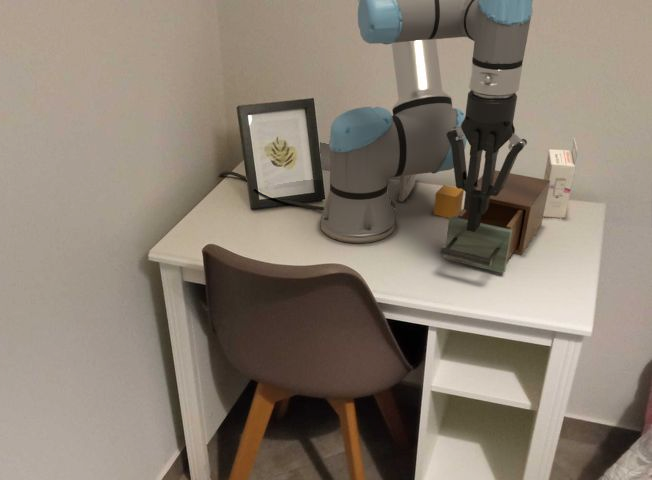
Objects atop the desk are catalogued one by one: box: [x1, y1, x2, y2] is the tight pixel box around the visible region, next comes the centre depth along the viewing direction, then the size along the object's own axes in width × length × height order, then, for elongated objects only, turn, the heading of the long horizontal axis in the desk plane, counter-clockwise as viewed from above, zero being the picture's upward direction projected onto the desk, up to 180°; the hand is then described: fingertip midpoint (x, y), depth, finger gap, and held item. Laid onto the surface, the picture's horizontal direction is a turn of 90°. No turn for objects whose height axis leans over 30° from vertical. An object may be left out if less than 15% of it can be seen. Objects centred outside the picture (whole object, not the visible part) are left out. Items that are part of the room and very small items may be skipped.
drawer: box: [440, 202, 526, 274], centre depth 131 cm, size 19×11×8 cm, turn 149°
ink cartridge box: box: [543, 136, 579, 219], centre depth 148 cm, size 9×5×15 cm, turn 168°
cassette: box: [398, 174, 417, 203], centre depth 158 cm, size 12×2×8 cm, turn 159°
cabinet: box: [463, 169, 550, 256], centre depth 141 cm, size 14×13×10 cm
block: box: [433, 184, 465, 219], centre depth 150 cm, size 4×4×5 cm
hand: (473, 227), depth 124 cm, fingers closed
